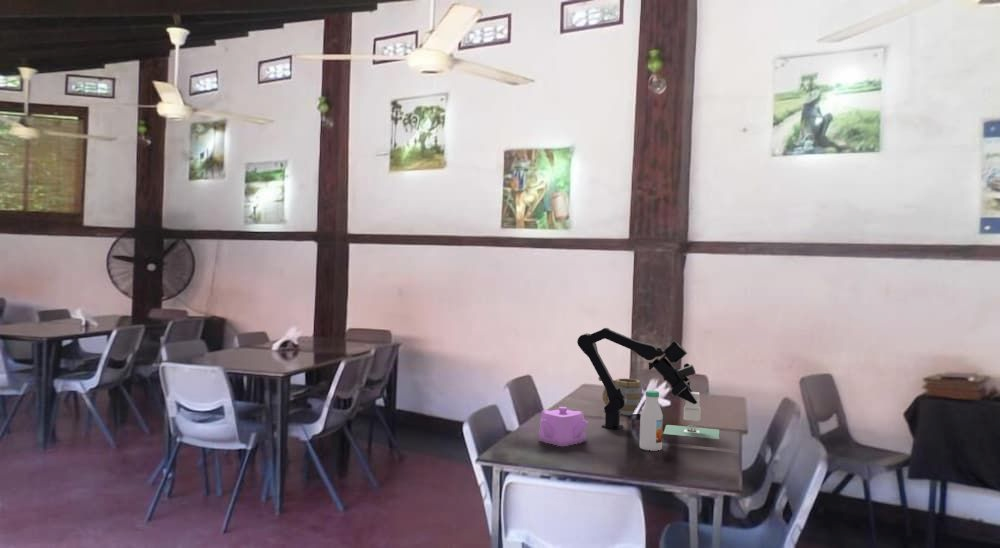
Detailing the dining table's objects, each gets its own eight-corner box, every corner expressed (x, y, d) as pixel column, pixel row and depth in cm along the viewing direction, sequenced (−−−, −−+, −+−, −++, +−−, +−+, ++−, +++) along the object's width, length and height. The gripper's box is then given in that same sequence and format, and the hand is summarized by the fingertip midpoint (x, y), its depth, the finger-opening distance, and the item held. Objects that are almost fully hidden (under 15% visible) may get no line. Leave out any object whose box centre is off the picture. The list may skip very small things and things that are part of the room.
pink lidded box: (582, 436, 257) (583, 403, 257) (588, 448, 240) (589, 412, 240) (536, 435, 257) (537, 402, 256) (539, 447, 240) (540, 411, 239)
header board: (662, 436, 259) (663, 427, 259) (666, 427, 274) (666, 418, 274) (719, 442, 252) (719, 432, 252) (719, 432, 268) (719, 423, 268)
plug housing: (683, 419, 262) (684, 393, 262) (684, 417, 266) (684, 391, 266) (699, 421, 260) (700, 394, 260) (700, 418, 264) (701, 392, 264)
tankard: (646, 411, 304) (647, 377, 303) (635, 416, 293) (636, 381, 293) (604, 405, 314) (605, 372, 314) (592, 410, 304) (593, 376, 303)
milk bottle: (649, 452, 236) (650, 393, 236) (634, 446, 243) (636, 390, 243) (666, 450, 240) (668, 392, 240) (652, 444, 247) (653, 388, 246)
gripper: (681, 360, 255) (712, 392, 252) (684, 354, 273) (712, 384, 270) (659, 379, 258) (688, 412, 254) (663, 372, 275) (691, 403, 272)
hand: (696, 402), depth 263 cm, fingers closed on plug housing, 5 cm apart
